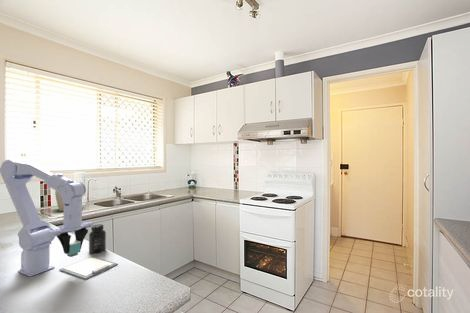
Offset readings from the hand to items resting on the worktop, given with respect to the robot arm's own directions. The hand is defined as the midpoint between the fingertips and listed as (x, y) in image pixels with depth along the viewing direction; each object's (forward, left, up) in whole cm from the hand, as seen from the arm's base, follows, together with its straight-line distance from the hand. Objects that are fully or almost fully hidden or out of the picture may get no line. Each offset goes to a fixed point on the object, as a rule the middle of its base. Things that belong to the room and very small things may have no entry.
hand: (72, 250), depth 87 cm
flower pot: (-122, +65, -9) cm, 138 cm away
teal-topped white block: (0, 0, -2) cm, 2 cm away
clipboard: (+1, +5, -8) cm, 10 cm away
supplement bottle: (-12, +17, -9) cm, 23 cm away
